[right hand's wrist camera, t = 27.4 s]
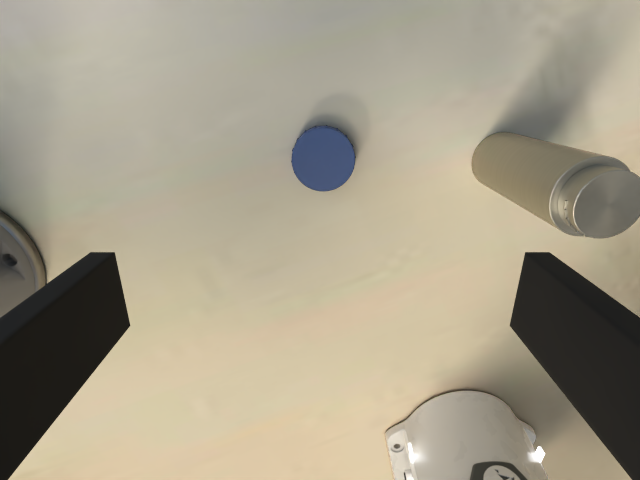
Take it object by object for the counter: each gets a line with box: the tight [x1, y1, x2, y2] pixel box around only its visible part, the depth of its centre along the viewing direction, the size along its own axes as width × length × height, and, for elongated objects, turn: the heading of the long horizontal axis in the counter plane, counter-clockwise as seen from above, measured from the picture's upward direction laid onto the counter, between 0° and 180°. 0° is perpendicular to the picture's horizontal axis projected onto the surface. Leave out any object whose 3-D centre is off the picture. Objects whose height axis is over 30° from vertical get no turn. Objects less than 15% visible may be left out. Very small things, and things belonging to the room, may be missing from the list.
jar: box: [472, 132, 640, 238], centre depth 30 cm, size 5×5×15 cm
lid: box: [291, 125, 355, 191], centre depth 36 cm, size 6×6×2 cm
